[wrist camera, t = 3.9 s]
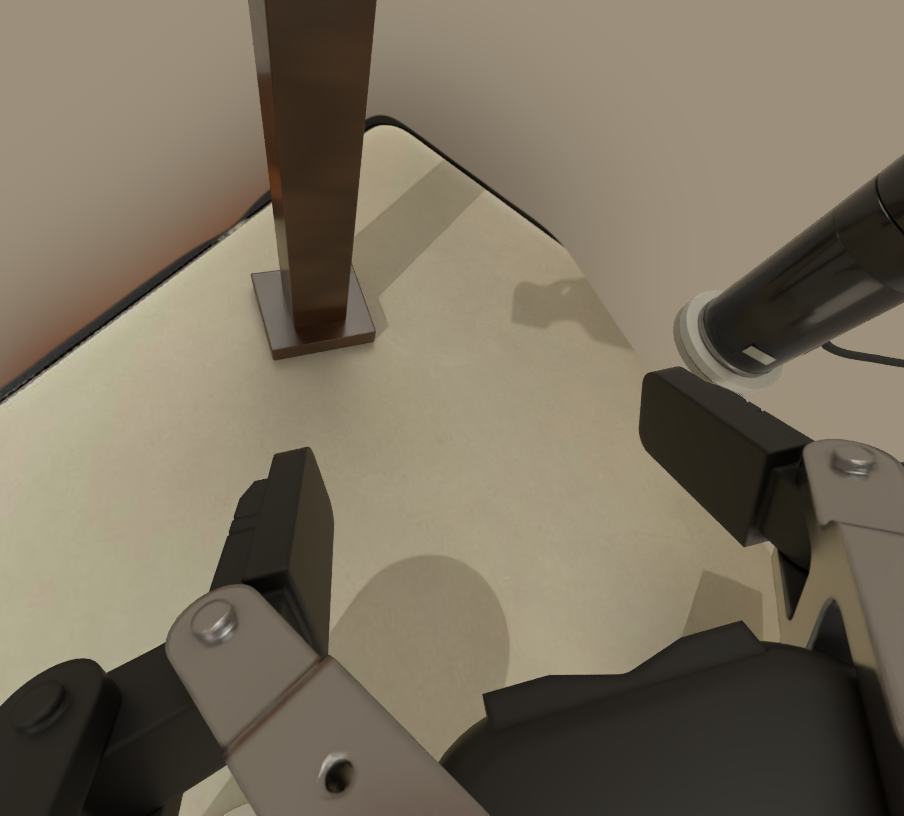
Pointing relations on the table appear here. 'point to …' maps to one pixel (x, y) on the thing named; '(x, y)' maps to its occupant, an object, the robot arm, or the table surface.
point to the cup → (241, 811)
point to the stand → (313, 168)
